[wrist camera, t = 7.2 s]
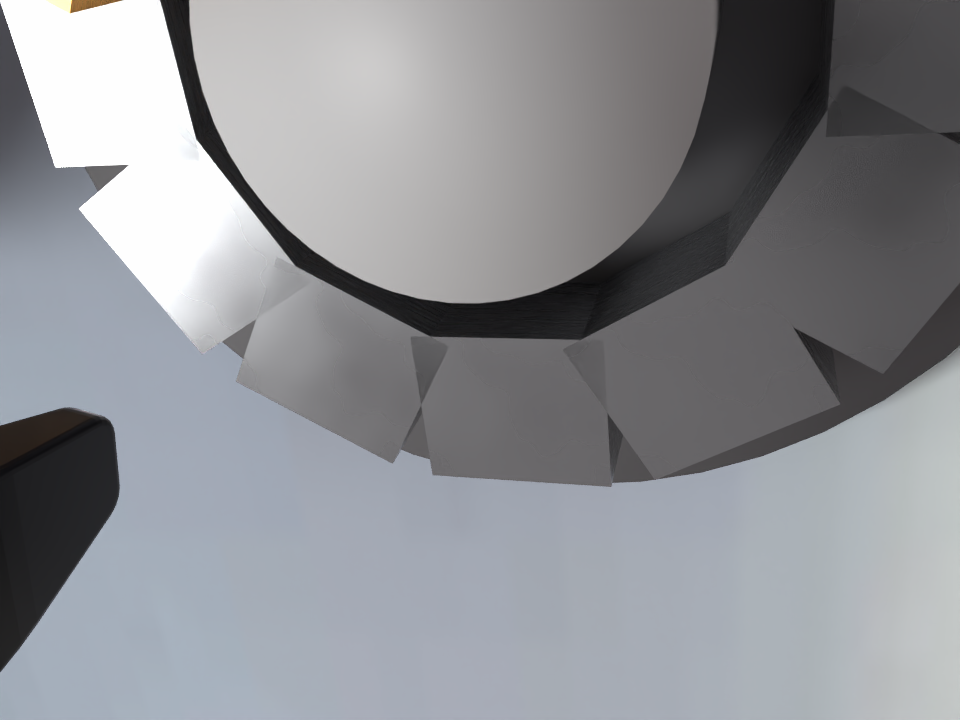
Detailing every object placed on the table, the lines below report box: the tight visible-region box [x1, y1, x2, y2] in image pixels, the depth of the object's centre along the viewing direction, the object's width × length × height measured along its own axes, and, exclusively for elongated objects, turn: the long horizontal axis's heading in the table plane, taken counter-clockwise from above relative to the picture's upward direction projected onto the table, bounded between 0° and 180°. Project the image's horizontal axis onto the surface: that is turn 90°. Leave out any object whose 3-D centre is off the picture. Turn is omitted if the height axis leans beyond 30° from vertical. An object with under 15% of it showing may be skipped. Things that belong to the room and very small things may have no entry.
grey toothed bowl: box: [0, 0, 960, 487], centre depth 13 cm, size 16×17×5 cm
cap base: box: [84, 0, 960, 483], centre depth 14 cm, size 20×20×6 cm
